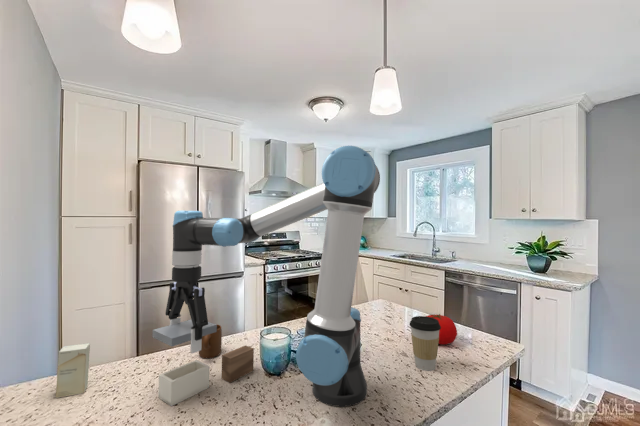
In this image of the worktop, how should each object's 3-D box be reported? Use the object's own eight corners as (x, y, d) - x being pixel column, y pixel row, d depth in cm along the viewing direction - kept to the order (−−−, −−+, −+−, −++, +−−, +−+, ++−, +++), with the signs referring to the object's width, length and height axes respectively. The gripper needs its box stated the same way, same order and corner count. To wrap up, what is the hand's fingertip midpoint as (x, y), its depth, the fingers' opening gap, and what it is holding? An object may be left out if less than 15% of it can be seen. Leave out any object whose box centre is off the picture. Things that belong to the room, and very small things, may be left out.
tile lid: (216, 331, 86) (216, 324, 86) (171, 346, 75) (172, 338, 75) (196, 324, 92) (196, 317, 92) (152, 337, 81) (152, 329, 81)
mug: (217, 364, 100) (217, 335, 100) (192, 365, 98) (193, 336, 99) (222, 349, 111) (223, 323, 112) (201, 350, 110) (201, 324, 110)
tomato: (464, 344, 117) (464, 317, 117) (445, 352, 110) (444, 323, 110) (432, 333, 129) (432, 308, 129) (413, 339, 122) (412, 313, 122)
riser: (253, 370, 95) (253, 348, 95) (229, 382, 88) (230, 358, 88) (245, 367, 98) (245, 345, 98) (221, 378, 90) (221, 355, 90)
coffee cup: (442, 363, 101) (441, 317, 102) (440, 376, 92) (440, 326, 93) (411, 357, 105) (411, 314, 106) (407, 369, 96) (407, 322, 97)
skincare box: (55, 399, 80) (56, 352, 80) (61, 390, 84) (62, 346, 84) (84, 393, 82) (86, 348, 83) (89, 385, 86) (90, 342, 87)
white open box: (209, 387, 85) (209, 365, 86) (171, 406, 77) (171, 382, 77) (196, 380, 89) (196, 359, 89) (158, 397, 80) (158, 374, 81)
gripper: (223, 268, 81) (221, 352, 80) (178, 261, 94) (176, 333, 93) (198, 271, 74) (195, 363, 74) (153, 263, 88) (151, 340, 87)
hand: (185, 346), depth 83 cm, fingers closed on tile lid, 10 cm apart
